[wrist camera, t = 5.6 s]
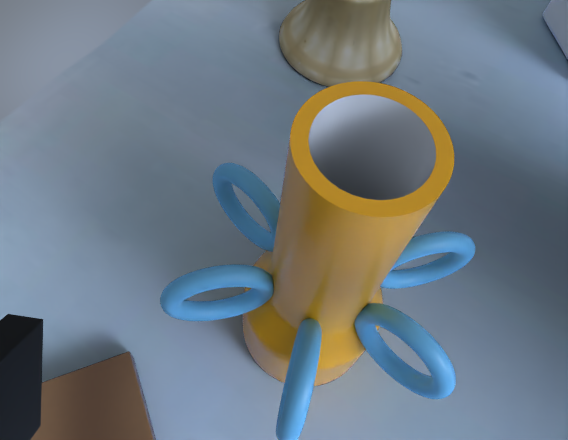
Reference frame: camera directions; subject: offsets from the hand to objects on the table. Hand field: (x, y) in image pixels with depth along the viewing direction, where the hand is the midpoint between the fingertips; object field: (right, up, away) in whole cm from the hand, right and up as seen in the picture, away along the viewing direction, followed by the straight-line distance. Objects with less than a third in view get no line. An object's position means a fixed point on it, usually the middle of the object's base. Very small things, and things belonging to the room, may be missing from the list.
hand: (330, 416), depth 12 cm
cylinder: (0, -1, +14) cm, 14 cm away
